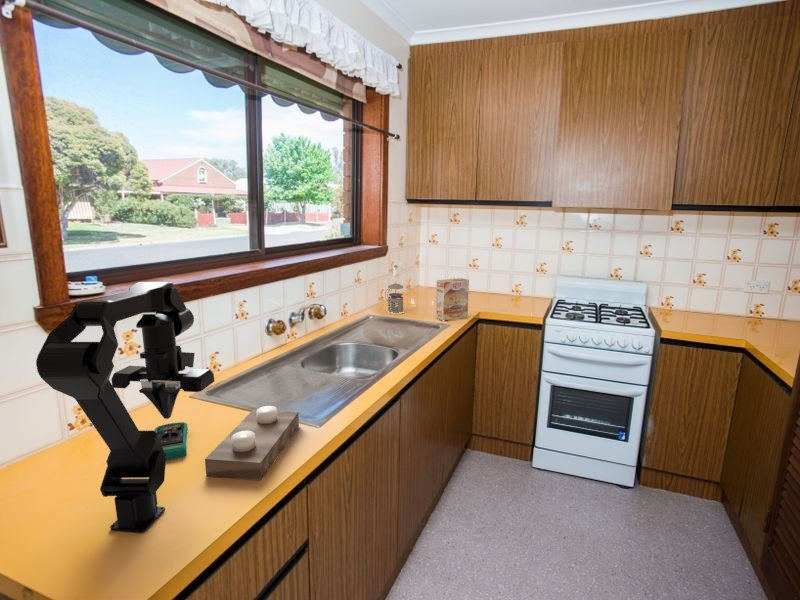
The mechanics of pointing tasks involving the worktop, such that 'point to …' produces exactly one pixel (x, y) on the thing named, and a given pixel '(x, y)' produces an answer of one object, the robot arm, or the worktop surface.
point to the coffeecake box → (452, 299)
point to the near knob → (243, 441)
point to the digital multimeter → (173, 439)
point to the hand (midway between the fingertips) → (167, 417)
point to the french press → (393, 298)
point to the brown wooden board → (261, 456)
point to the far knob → (266, 414)
